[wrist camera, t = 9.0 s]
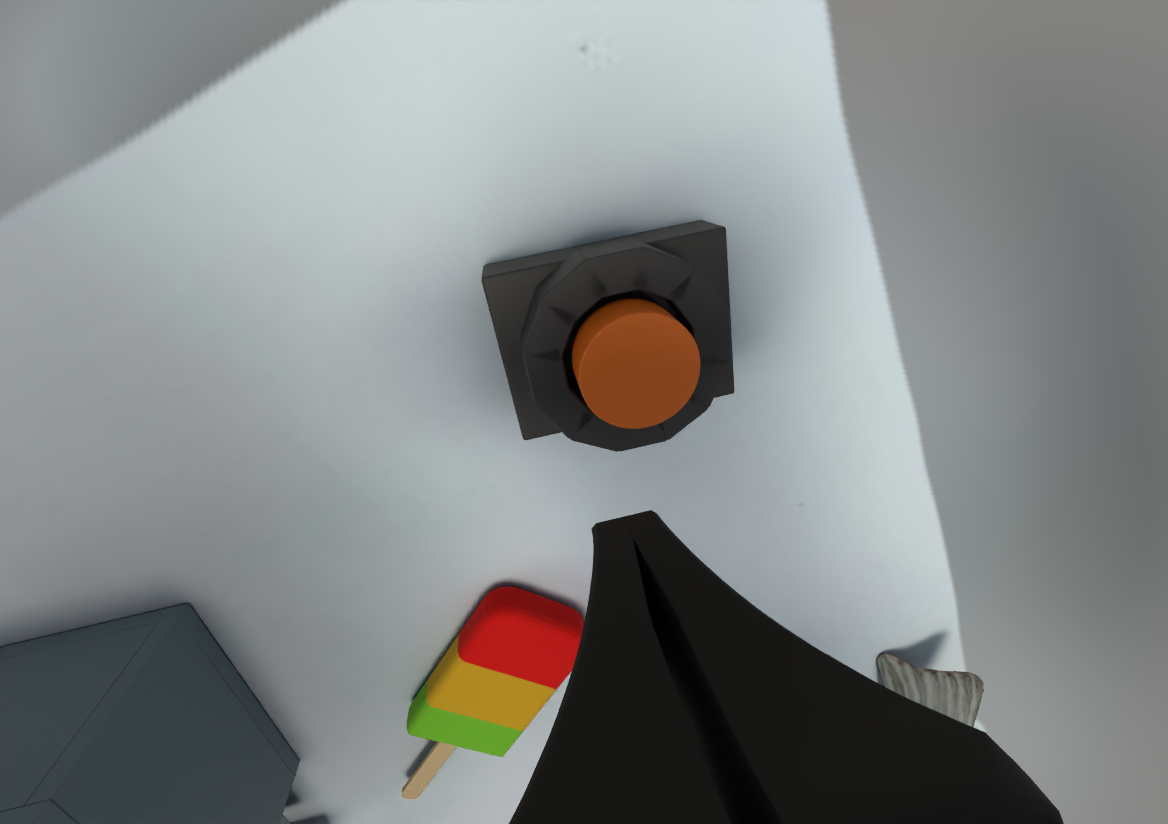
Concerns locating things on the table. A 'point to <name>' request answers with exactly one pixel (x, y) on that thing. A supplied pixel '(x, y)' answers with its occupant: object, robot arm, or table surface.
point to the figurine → (934, 688)
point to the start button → (635, 363)
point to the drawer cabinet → (136, 729)
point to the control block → (587, 282)
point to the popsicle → (493, 678)
